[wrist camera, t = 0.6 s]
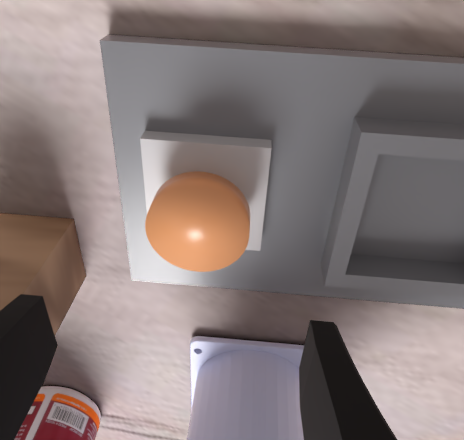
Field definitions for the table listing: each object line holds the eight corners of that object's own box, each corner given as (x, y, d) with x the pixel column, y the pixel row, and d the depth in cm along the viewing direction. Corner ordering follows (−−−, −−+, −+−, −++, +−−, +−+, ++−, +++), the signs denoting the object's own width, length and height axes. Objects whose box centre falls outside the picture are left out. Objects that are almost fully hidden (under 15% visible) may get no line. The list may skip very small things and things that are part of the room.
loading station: (466, 295, 22) (486, 332, 20) (136, 268, 23) (123, 301, 21) (588, 65, 15) (637, 86, 13) (108, 34, 16) (85, 49, 14)
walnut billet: (86, 276, 23) (27, 387, 18) (17, 270, 24) (-63, 378, 18) (73, 218, 21) (1, 325, 15) (-3, 212, 21) (-102, 316, 16)
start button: (247, 256, 18) (245, 275, 17) (155, 249, 18) (148, 267, 17) (254, 175, 15) (253, 192, 14) (148, 167, 16) (140, 183, 15)
